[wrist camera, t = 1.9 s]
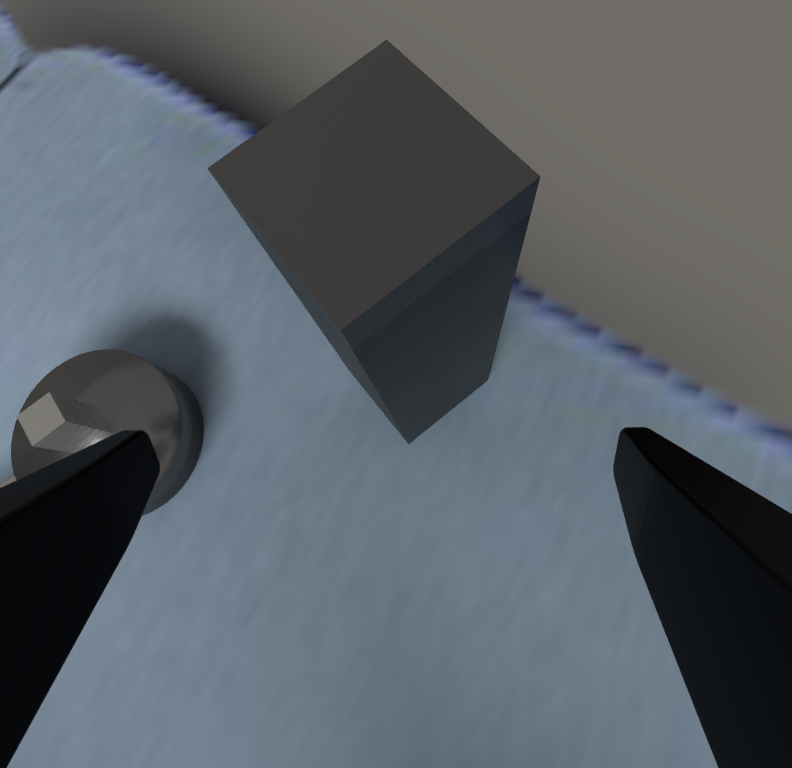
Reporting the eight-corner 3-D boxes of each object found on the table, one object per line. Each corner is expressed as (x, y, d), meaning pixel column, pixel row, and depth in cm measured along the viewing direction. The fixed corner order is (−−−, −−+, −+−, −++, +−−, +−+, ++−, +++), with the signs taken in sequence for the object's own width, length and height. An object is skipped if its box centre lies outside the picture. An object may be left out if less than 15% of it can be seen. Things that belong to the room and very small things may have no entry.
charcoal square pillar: (487, 380, 21) (539, 176, 8) (408, 444, 20) (340, 330, 8) (423, 309, 22) (386, 39, 10) (348, 368, 22) (207, 168, 9)
